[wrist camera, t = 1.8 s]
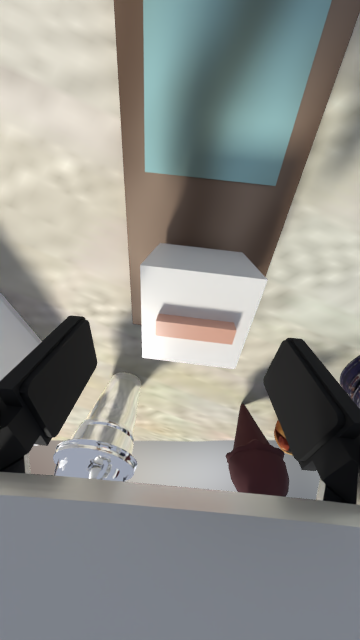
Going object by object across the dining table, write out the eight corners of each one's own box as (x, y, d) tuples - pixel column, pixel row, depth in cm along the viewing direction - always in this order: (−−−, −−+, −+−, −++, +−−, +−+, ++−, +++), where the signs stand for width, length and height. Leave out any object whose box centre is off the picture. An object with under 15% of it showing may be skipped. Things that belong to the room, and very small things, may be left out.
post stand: (376, -76, 8) (897, -871, 2) (240, 328, 21) (260, 383, 15) (118, -100, 9) (-93, -925, 2) (136, 316, 21) (111, 365, 15)
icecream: (215, 415, 31) (229, 564, 18) (224, 386, 27) (250, 553, 14) (257, 419, 31) (300, 573, 18) (272, 392, 27) (342, 564, 14)
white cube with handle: (242, 252, 14) (273, 286, 8) (223, 321, 18) (237, 378, 12) (159, 242, 14) (135, 269, 9) (157, 313, 18) (139, 366, 12)
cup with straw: (107, 353, 25) (-82, 677, 8) (167, 378, 26) (119, 683, 10) (92, 387, 29) (-51, 644, 12) (144, 406, 31) (84, 653, 14)
